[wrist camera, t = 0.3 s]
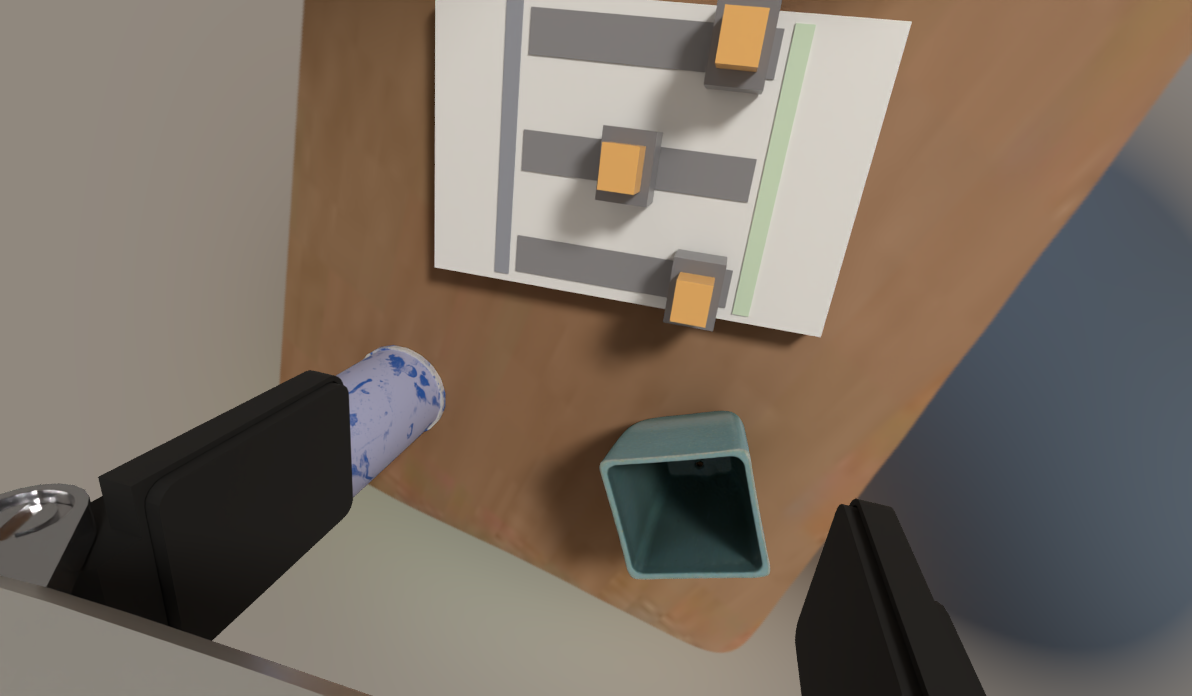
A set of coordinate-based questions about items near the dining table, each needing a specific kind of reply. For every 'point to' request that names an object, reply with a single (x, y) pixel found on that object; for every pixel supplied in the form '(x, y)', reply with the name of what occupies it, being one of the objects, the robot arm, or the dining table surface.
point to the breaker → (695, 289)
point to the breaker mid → (628, 165)
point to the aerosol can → (389, 407)
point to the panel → (687, 157)
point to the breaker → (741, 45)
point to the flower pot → (686, 498)
